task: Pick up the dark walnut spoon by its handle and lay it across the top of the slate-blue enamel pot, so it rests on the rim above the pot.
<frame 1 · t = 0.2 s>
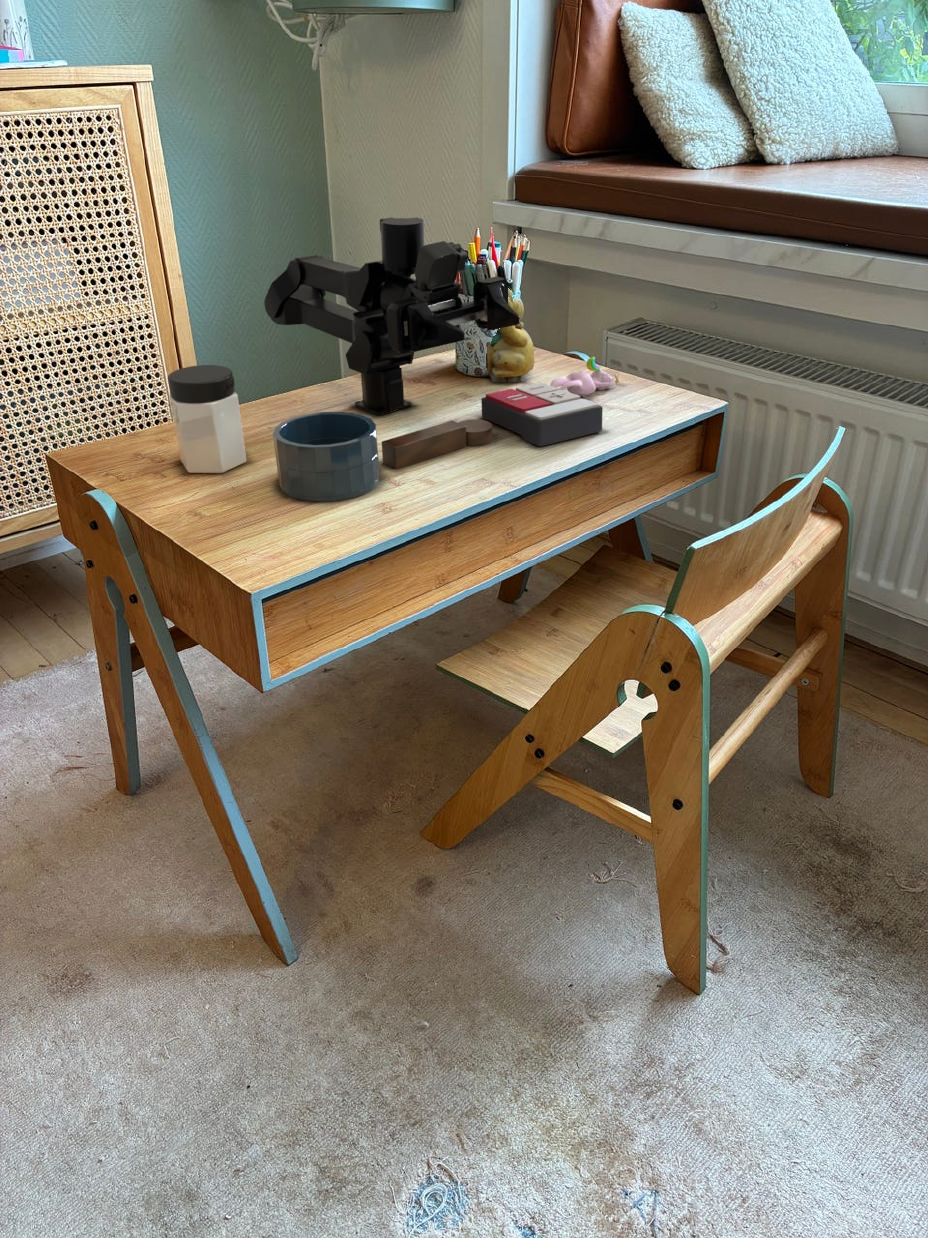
hand: (491, 328, 124), 17 cm above the table, tool horizontal, fingers open, 9 cm apart
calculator: (540, 425, 141), on the table
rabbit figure: (583, 396, 152), on the table
decorative figurine: (509, 377, 161), on the table
spoon: (439, 450, 133), on the table
jar: (214, 463, 131), on the table
pot: (330, 481, 125), on the table
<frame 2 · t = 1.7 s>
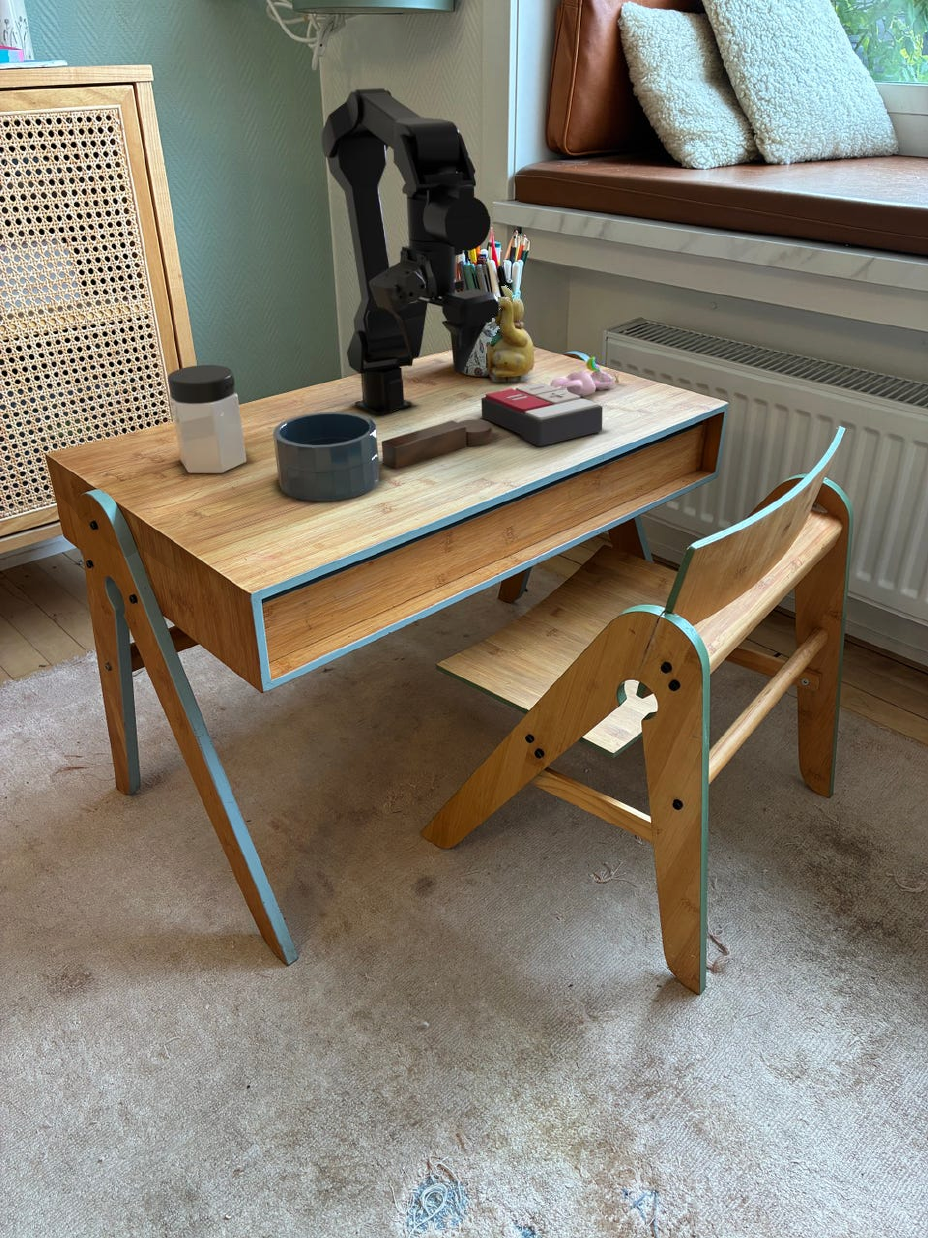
hand: (436, 364, 127), 12 cm above the table, tool pointing down, fingers open, 9 cm apart
nothing on the table moved.
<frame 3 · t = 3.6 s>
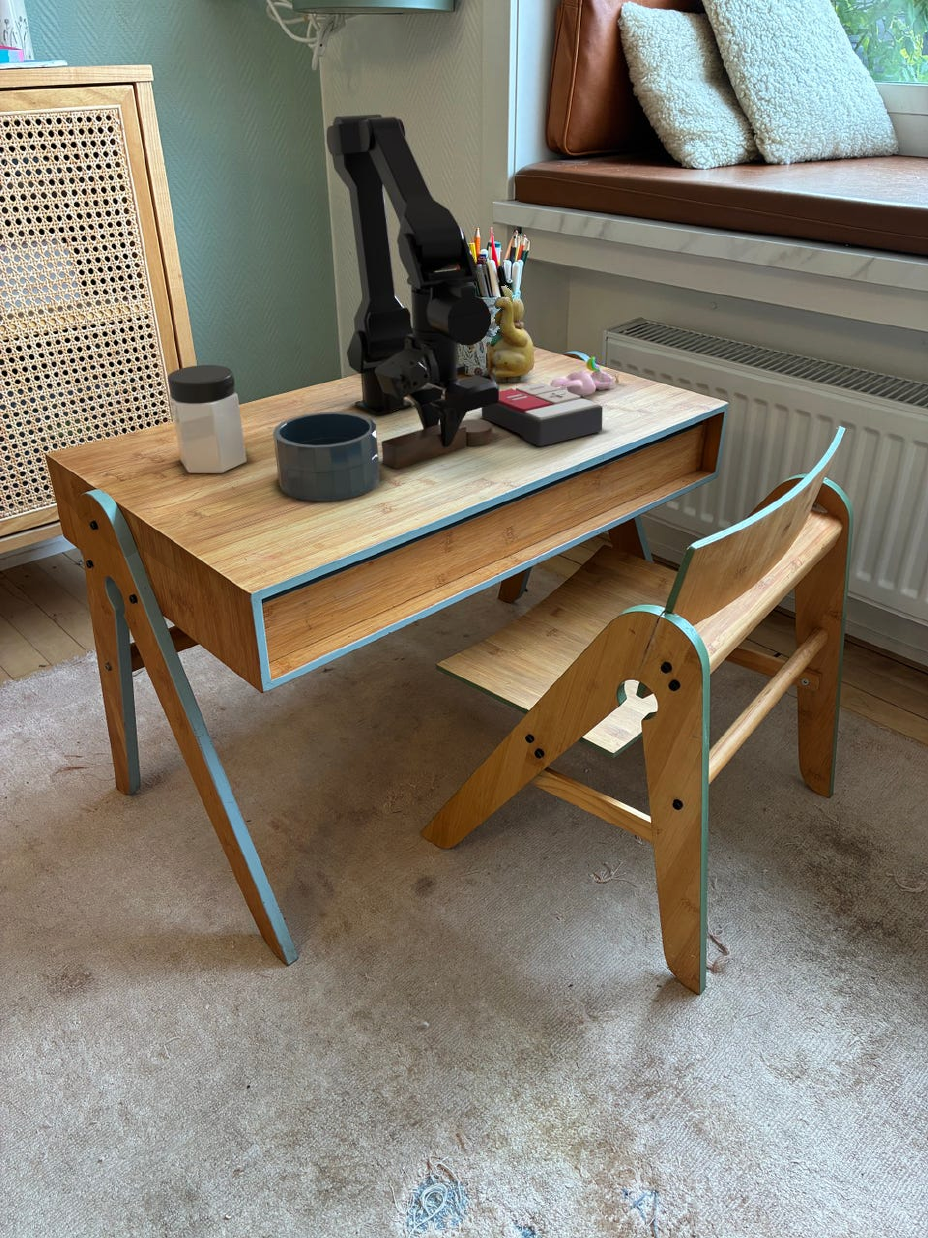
hand: (439, 442, 133), 1 cm above the table, tool pointing down, fingers closed on spoon, 3 cm apart
spoon: (439, 450, 133), on the table, touching gripper
everything else where it was.
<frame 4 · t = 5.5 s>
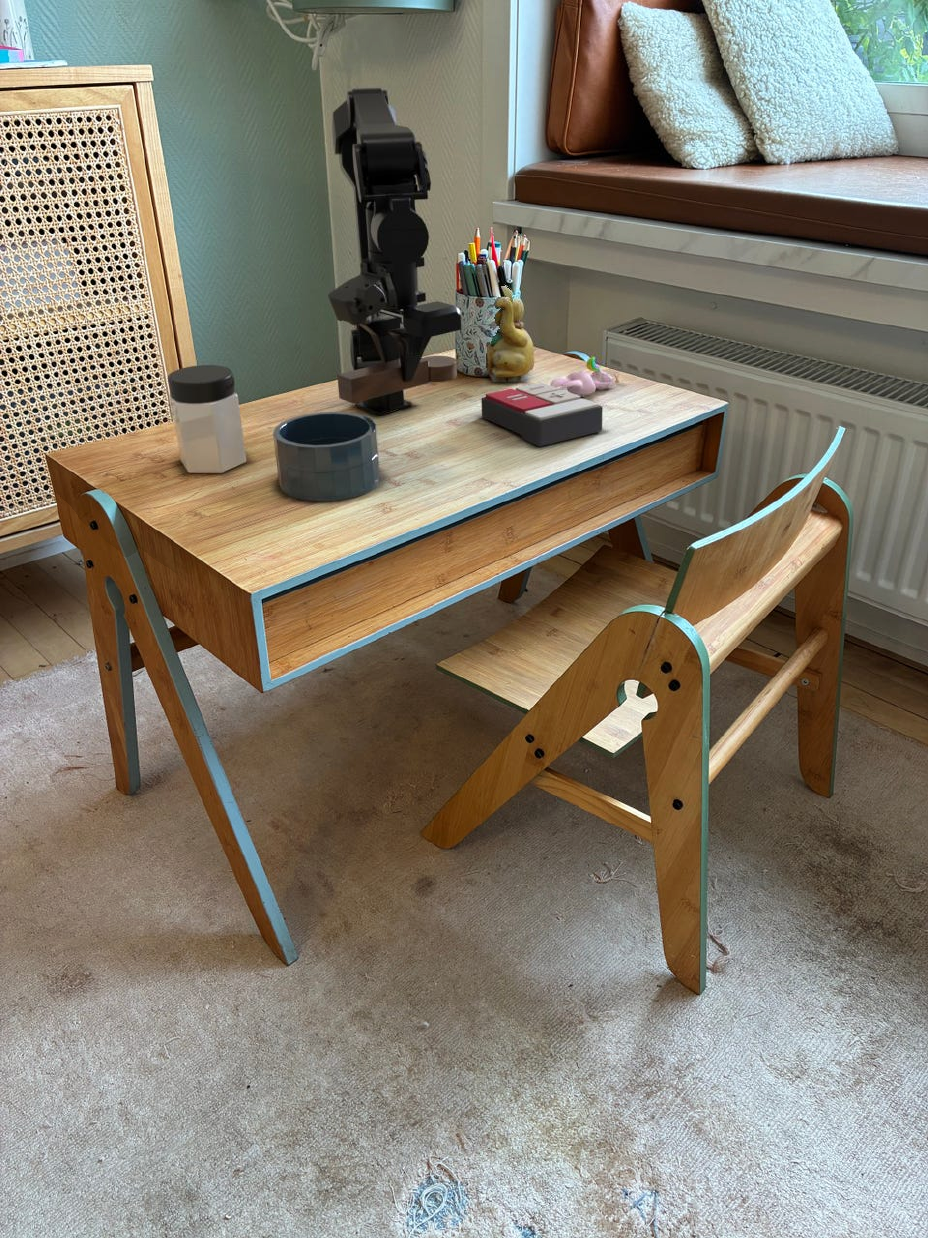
hand: (399, 378, 125), 11 cm above the table, tool pointing down, fingers closed on spoon, 3 cm apart
spoon: (400, 386, 125), point 10 cm above the table, touching gripper
everything else where it was.
when the fingers open (8 cm above the table, at t = 7.4 s): spoon stays where it is, resting on pot.
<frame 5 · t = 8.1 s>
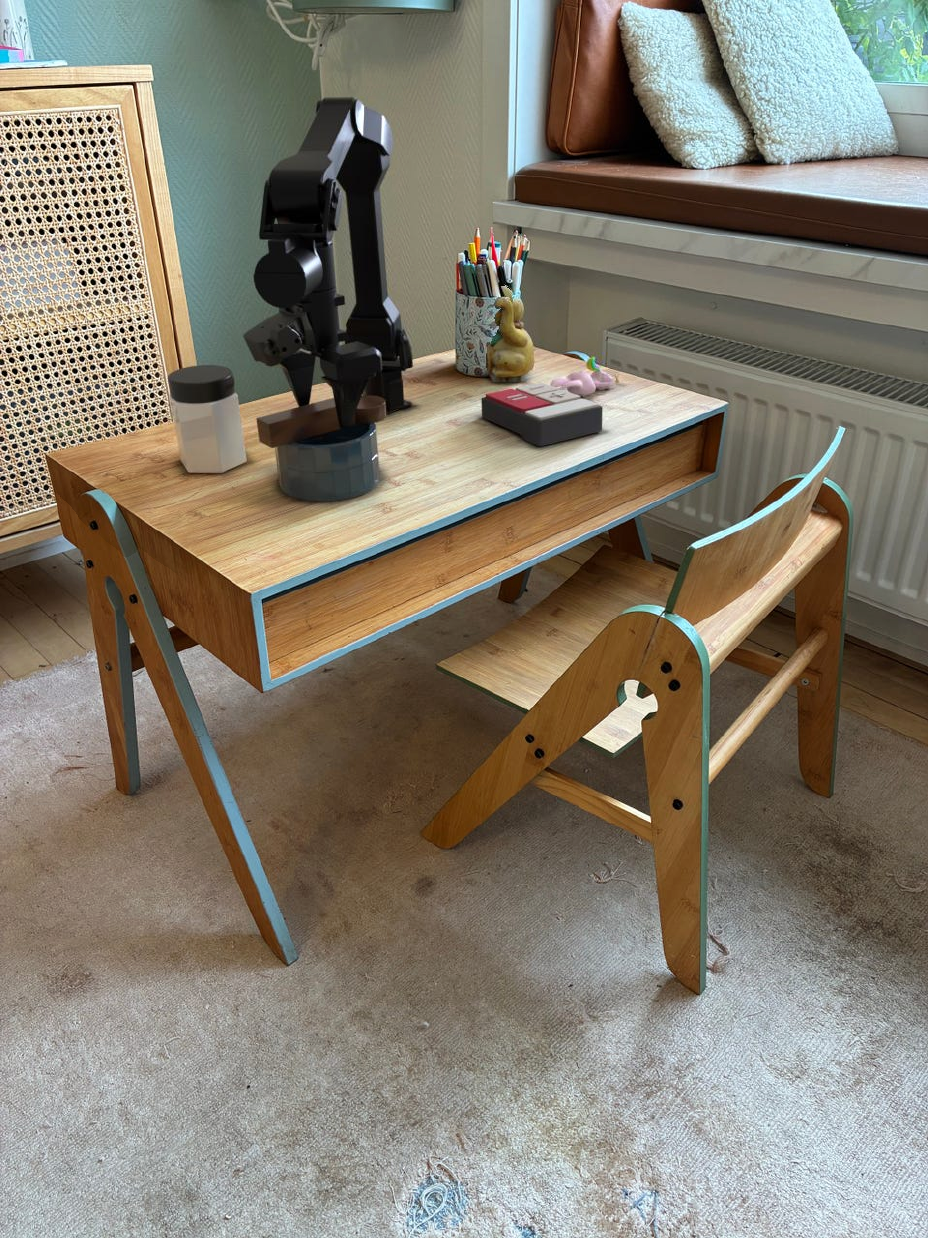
hand: (323, 418, 120), 8 cm above the table, tool pointing down, fingers open, 9 cm apart
spoon: (325, 428, 121), point 7 cm above the table, touching pot
everything else where it was.
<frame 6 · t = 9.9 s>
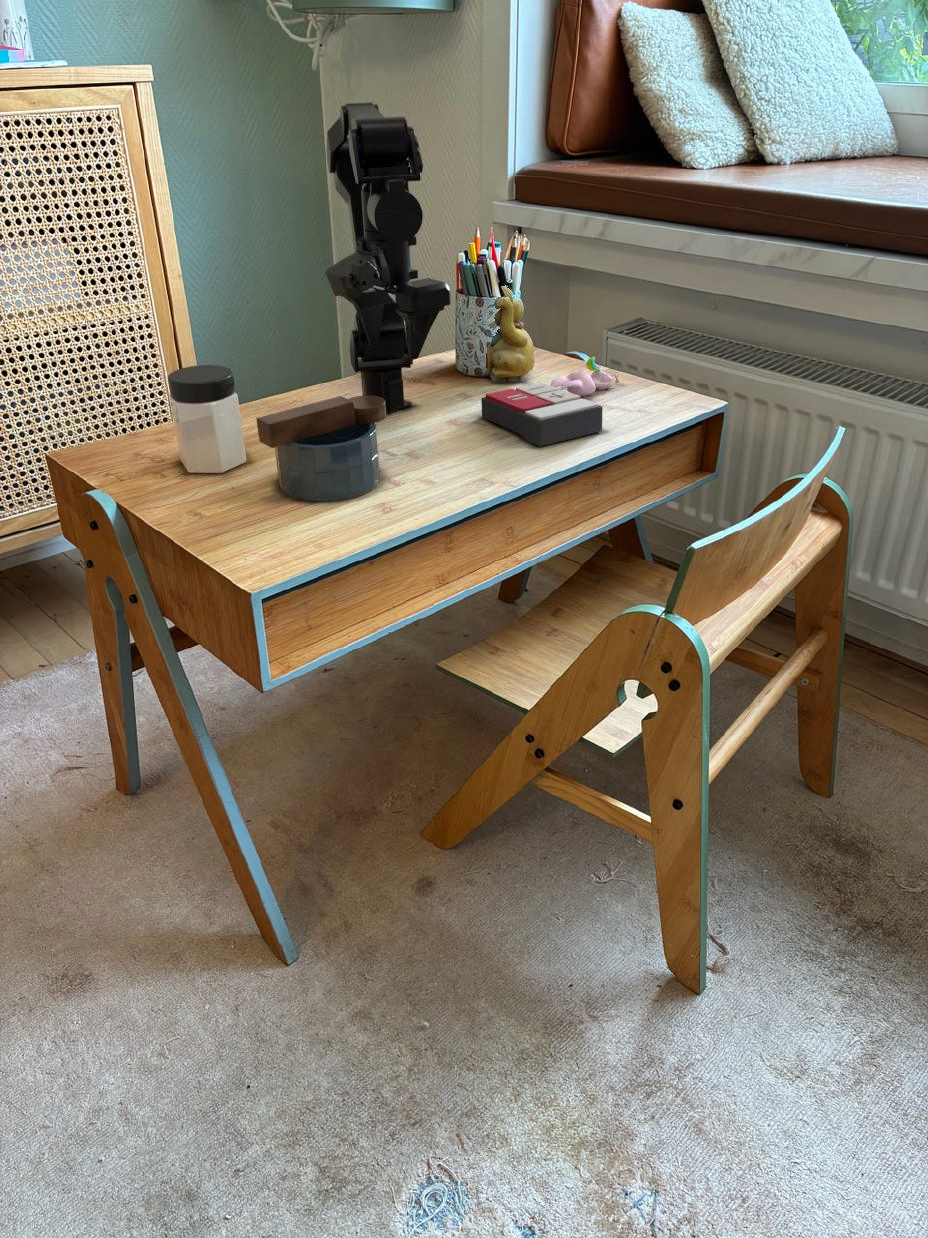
hand: (393, 351, 132), 12 cm above the table, tool pointing down, fingers open, 9 cm apart
nothing on the table moved.
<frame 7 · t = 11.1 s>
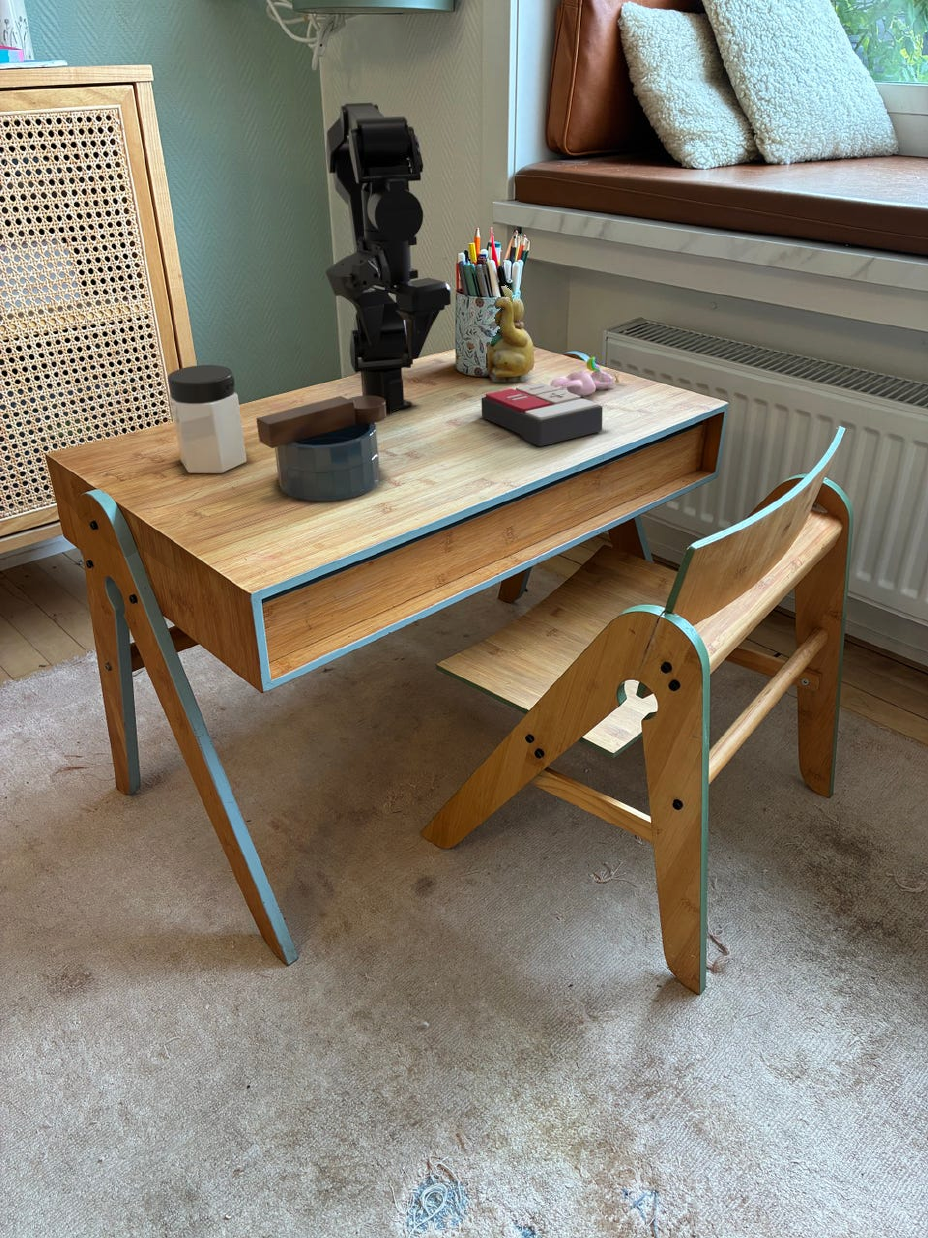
hand: (393, 351, 132), 12 cm above the table, tool pointing down, fingers open, 9 cm apart
nothing on the table moved.
at the end: spoon 0.0 cm off-centre on the pot, point 7.0 cm above the pot's base; spoon touching pot; the gripper is holding nothing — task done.
